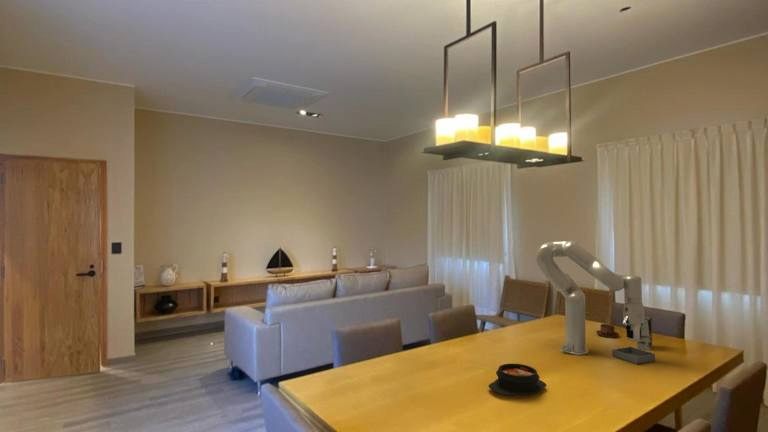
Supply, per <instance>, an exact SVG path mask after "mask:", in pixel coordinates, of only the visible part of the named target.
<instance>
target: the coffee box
mask: <svg viewBox="0 0 768 432" xmlns="http://www.w3.org/2000/svg"><path fill="white" fill-rule="evenodd" d="M636 346H637V349H640V350H643V351H652V348H653V317H651V316H645V322H644V323H643V325H642V329H641V337H640V342H636Z"/></svg>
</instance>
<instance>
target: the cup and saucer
mask: <svg viewBox="0 0 768 432" xmlns="http://www.w3.org/2000/svg"><path fill="white" fill-rule="evenodd" d="M595 333H596V334H597V335H598V336H601V337H606V338H616V337H619V335H620V334H619V332H616V331H615V326H614V325H612V324H608V323H605V324H604V323H602V324H600V330H599V329H598V330H596V331H595Z"/></svg>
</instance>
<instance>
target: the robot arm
mask: <svg viewBox="0 0 768 432" xmlns="http://www.w3.org/2000/svg"><path fill="white" fill-rule="evenodd" d="M557 257H558V258H560V257H561V258H563V257H567V258H568V259H569V260H571V261H572V262H574V263H575V264H576V265H578V266H580V268H582V269H583V270H584V271H586V272H587V273H588V274H589V275H591V276H592V277H594V278H595V279H596V280H597V281H599V282H600V283H601V284H602V285H604V286H606V287H607V289H609V290H611V291H613V292H620V291H621V290H623V293H624V295H623V296H624V304H623V312H622V313H623V314H622V315H623V321H622V323H621V324H622V325H623V326H624V327H625V328H624V329H625V331H626V338H633V330H632V328H633V325H636V324H640V337H641V329H642V325H643V323H644V322H645V317H646V314H645V308H644V304H643V293H642V292H643V291H642V290H643V289H642V277H640V276H639V275H632V274H631V275H625V274H624V275H623V274H619V273H617V274H616V273H615V272H613V271H612V270H611V269H609V268H608V267H607V266H605V265H604V264H603V263H602V262H601V260H600V259H599V258H598V257H596V256H595V255H593V254H592V253H590V251H588V250H586V249H585V248H584V247H582V246H581V245H580V244H579V243H578V242H576V241H574V240H568V241H567V240H565V241H548V242H545V243H543V244H541V245H540V247H539V248H538V251H537V252H536V263H537V267H539V269H540V271H541V272H542V273H543V275H544V277H545V278H546V279H547V280H548V282H549V283H550V284H551V285H552V287H553V288H554V290H556V291H557V292H559V293H560V294H561V295H562V297H564V310H565V311H564V312H565V315H564V316H565V318H564V320H565V342H564V343H563V344H562V345H559V346H558V348H559V350H562V351H563V352H564V353H567V354H571V355H578V356H579V355H580V356H584V355H588V354H589V352H590V351H589V349H588V348H586V295H585V293H584V292H583V290H582V289H581V288H580V286H578V284H577V283H576V282H575V281H574V279H573V278H572V277H571V276H570V274H568V273H566V272H563V270H562V269H561V268H560V267H559V265H558V264H557V263H556V262H555V260H554V258H557ZM629 325H630V326H629Z"/></svg>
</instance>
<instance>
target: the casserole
mask: <svg viewBox="0 0 768 432" xmlns="http://www.w3.org/2000/svg"><path fill="white" fill-rule="evenodd" d="M495 373H496V374H495V375H496V376H497V379H495V380H494V381H492V382H491V383H489V384H488V388H489V389H490V390H491V391H493V392H494V393H496V394H497V393H498V394H500V395H504V396H509V397H511V396H531V395H535V394H538V393H540V392H541V391H542V390H543V389H544V388H545V387H547V384H546V383H545V382H544V381H543V380H541V379H540V375H539V374H538V371H537V369H536V368H535V367H532V366H530V365H527V364H521V363H504V364H501V365H499V366H498V369H497V370H496V372H495Z"/></svg>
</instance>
